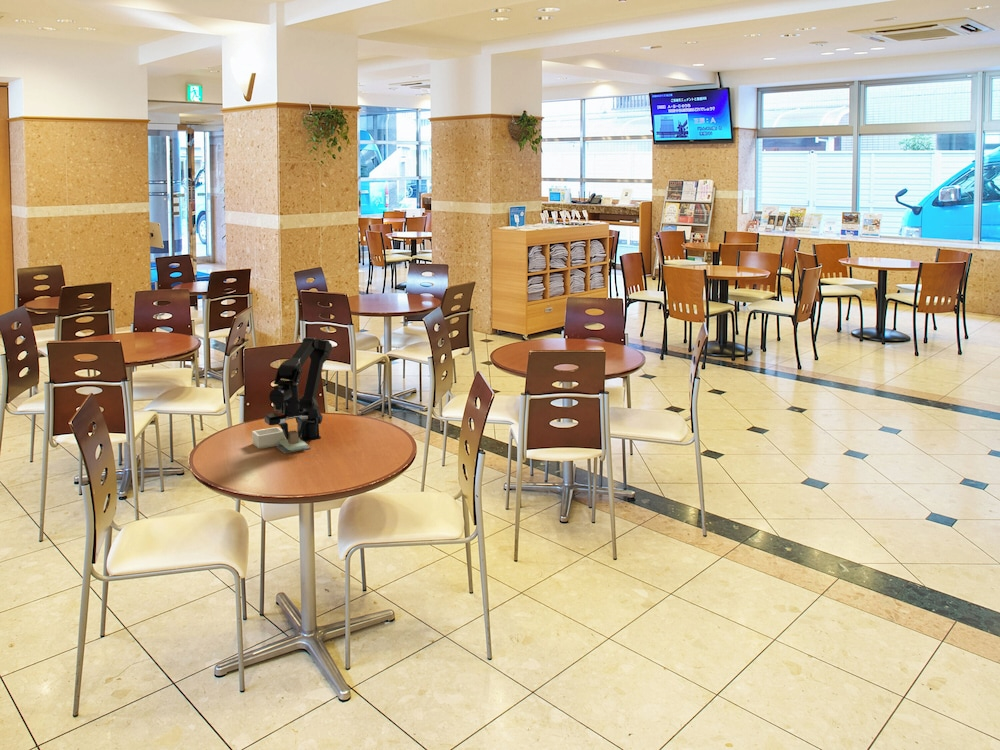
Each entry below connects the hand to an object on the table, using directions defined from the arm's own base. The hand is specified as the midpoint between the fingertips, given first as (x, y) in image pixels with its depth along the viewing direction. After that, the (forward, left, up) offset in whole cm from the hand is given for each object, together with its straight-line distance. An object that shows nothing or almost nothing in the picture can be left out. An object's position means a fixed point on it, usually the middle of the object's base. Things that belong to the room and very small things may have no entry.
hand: (292, 438), depth 321 cm
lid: (0, 0, -2) cm, 2 cm away
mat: (0, 0, -4) cm, 4 cm away
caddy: (+6, -9, -4) cm, 12 cm away
